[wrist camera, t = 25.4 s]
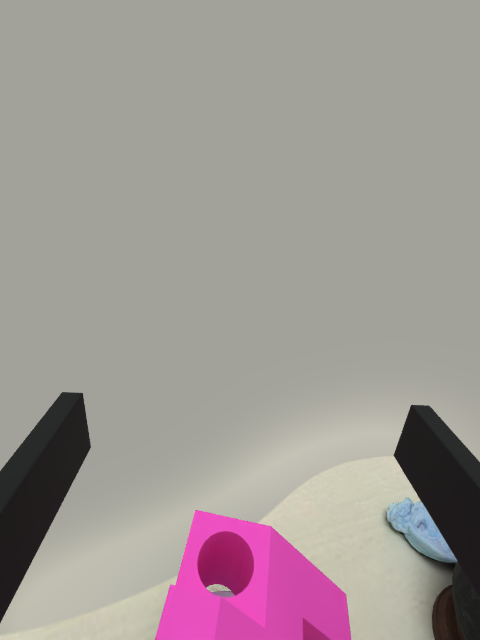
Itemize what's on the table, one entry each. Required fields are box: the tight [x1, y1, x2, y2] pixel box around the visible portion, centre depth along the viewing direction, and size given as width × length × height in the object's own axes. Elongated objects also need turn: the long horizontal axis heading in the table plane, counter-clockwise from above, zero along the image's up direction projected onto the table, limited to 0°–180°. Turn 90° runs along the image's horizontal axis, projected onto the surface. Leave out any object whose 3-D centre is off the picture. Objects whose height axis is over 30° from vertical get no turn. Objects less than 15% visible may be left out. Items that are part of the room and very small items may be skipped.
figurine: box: [387, 498, 457, 563], centre depth 40 cm, size 8×12×7 cm, turn 82°
